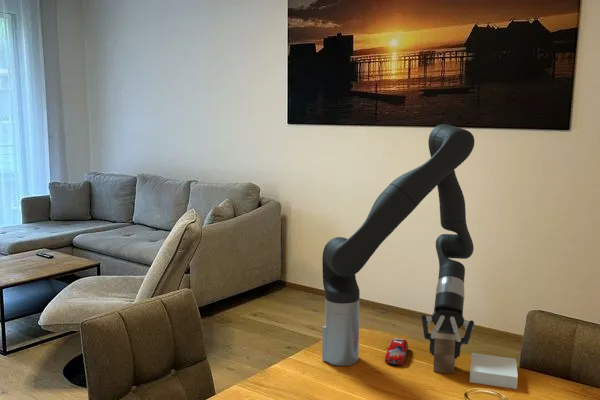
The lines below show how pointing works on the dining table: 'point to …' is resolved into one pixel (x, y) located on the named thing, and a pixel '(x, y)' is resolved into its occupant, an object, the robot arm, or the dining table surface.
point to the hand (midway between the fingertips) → (444, 355)
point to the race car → (397, 352)
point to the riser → (493, 370)
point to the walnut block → (444, 352)
